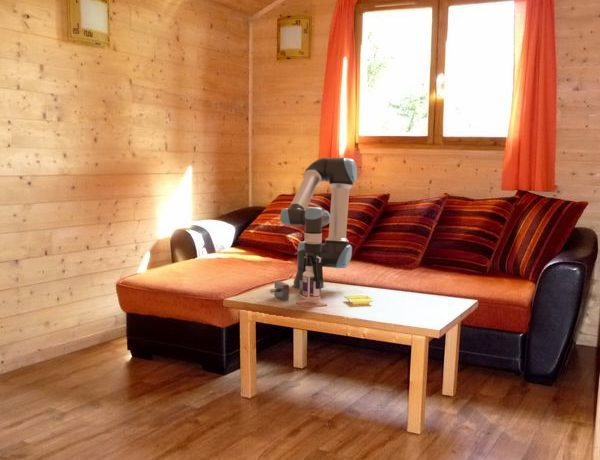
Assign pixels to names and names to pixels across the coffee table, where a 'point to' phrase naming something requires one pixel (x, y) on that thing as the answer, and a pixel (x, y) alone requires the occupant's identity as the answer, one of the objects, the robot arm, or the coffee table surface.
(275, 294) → the vise
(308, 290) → the pill bottle
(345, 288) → the coffee table surface
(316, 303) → the tile
